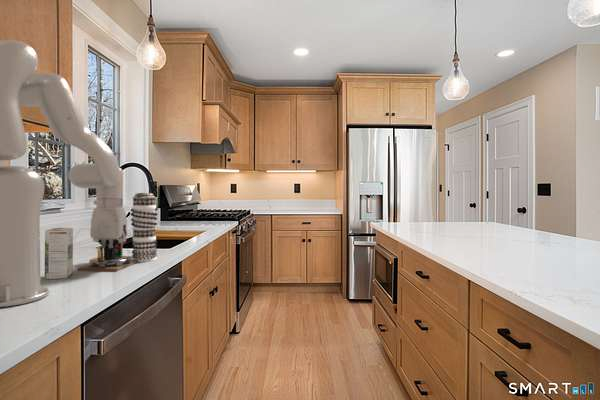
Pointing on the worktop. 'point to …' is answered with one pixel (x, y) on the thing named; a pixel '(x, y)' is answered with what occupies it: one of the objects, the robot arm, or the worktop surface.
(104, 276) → the worktop surface
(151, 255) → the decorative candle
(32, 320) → the worktop surface
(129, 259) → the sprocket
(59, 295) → the worktop surface
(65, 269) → the syrup box
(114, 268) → the base board
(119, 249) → the soda can
